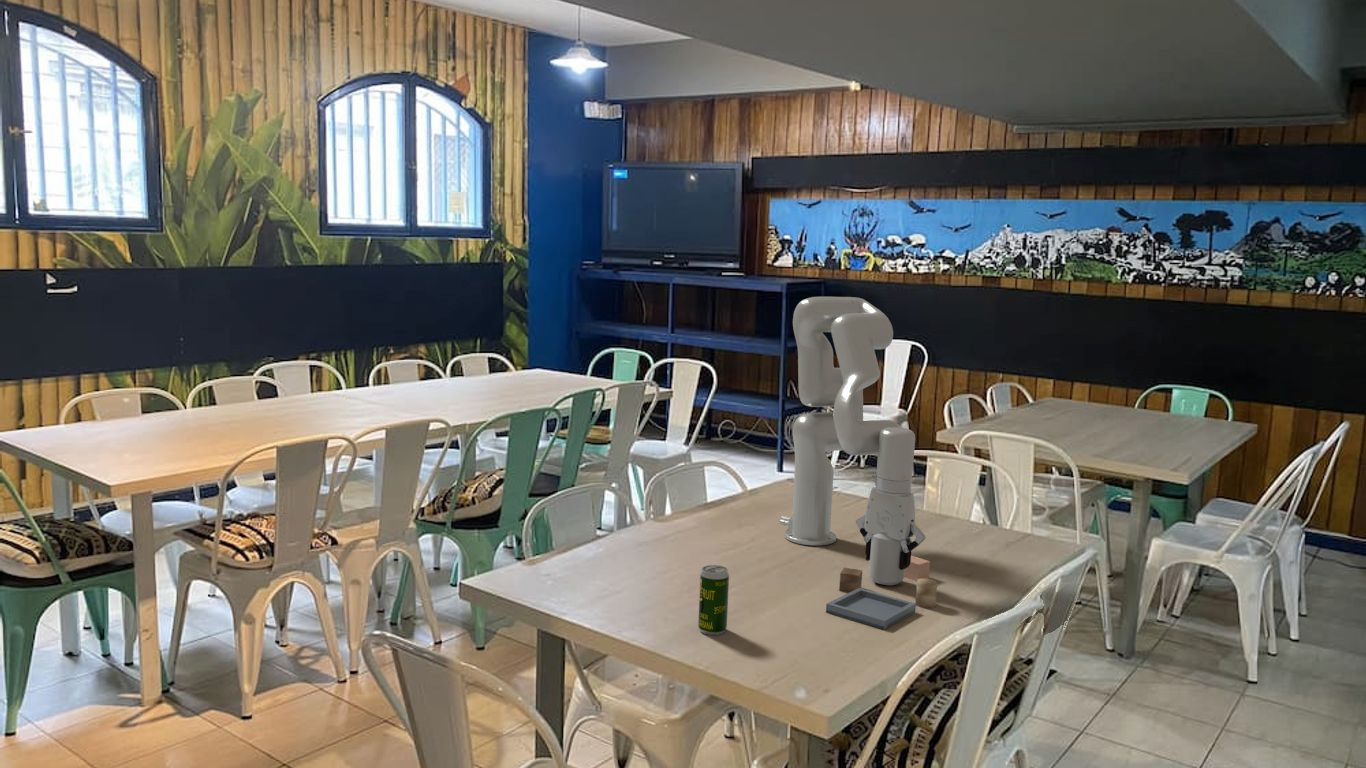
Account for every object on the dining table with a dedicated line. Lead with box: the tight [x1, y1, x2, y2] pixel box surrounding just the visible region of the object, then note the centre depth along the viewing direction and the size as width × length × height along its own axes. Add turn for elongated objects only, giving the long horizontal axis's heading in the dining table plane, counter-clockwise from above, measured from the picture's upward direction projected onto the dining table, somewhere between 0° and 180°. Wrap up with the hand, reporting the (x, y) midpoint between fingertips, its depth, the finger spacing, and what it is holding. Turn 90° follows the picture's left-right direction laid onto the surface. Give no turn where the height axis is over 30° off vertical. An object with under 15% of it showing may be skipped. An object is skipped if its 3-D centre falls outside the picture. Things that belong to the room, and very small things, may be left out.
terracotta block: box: [904, 554, 931, 582], centre depth 229 cm, size 5×4×4 cm
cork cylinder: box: [915, 578, 938, 609], centre depth 212 cm, size 4×4×5 cm
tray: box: [825, 587, 917, 631], centre depth 206 cm, size 13×13×2 cm
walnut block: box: [838, 567, 863, 593], centre depth 219 cm, size 4×4×4 cm
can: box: [868, 530, 905, 586], centre depth 224 cm, size 8×8×12 cm
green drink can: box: [697, 564, 730, 636], centre depth 193 cm, size 5×5×12 cm
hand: (887, 563), depth 224 cm, fingers closed on can, 7 cm apart
